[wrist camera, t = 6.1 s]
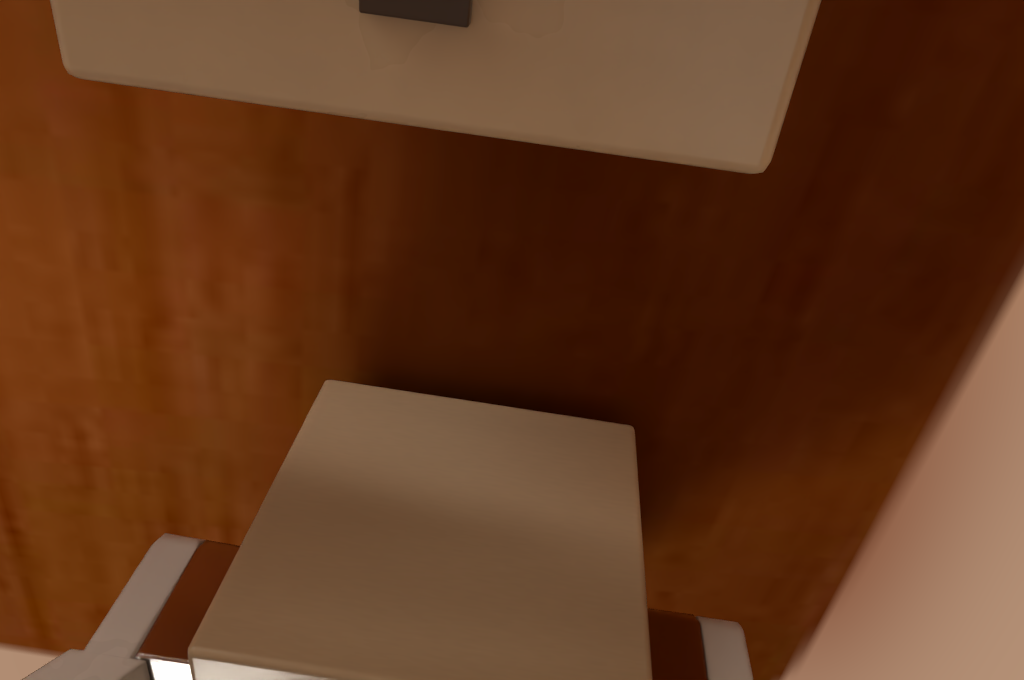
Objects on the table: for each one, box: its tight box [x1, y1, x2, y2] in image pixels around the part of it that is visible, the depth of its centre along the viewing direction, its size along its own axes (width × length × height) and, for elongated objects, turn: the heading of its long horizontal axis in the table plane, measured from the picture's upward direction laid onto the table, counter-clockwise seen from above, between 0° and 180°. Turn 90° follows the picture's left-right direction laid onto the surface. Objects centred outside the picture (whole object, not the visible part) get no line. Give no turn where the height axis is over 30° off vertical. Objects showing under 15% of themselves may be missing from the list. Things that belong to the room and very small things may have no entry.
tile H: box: [188, 379, 652, 680], centre depth 9 cm, size 4×4×4 cm
